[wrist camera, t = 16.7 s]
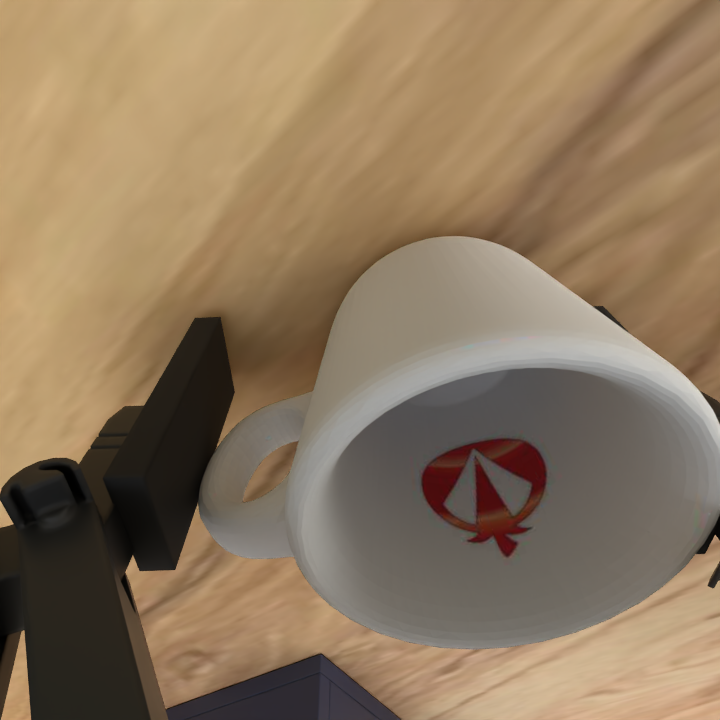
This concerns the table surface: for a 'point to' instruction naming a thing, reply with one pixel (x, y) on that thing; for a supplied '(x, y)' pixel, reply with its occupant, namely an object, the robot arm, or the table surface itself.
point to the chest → (289, 697)
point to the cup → (476, 457)
